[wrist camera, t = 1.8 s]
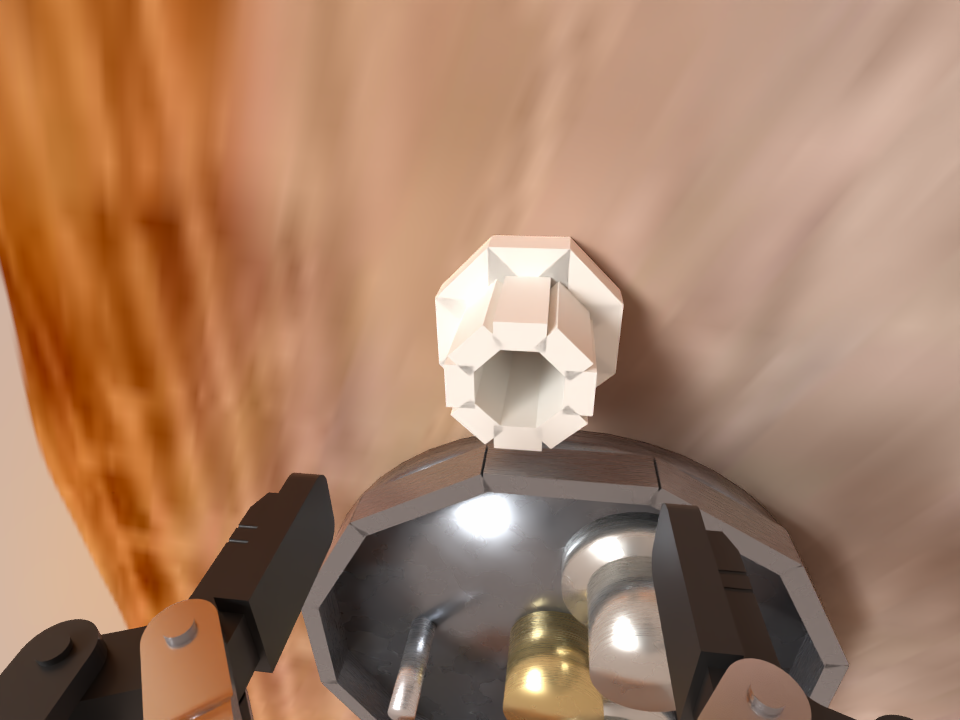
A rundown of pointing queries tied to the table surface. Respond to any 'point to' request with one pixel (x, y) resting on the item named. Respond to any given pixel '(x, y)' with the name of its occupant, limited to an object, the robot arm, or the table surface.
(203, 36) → the table surface
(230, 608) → the robot arm
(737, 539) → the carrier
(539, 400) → the white faceted ring
